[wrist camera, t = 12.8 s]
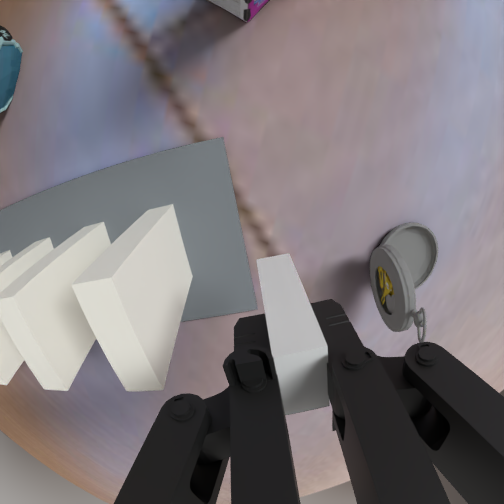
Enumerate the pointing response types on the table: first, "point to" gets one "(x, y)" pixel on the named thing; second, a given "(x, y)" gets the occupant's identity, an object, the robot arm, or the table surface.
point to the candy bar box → (241, 7)
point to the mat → (145, 198)
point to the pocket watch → (402, 275)
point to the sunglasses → (8, 67)
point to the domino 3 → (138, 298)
